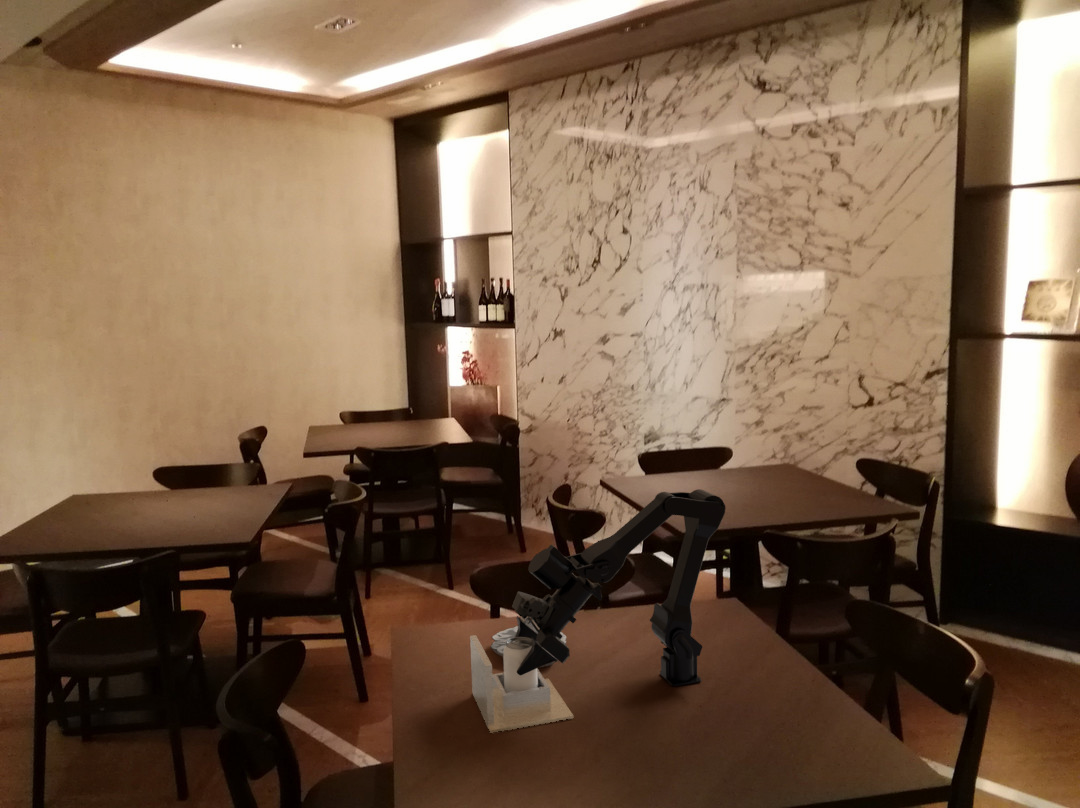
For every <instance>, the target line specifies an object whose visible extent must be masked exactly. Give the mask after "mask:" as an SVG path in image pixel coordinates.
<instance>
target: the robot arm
mask: <svg viewBox="0 0 1080 808" xmlns="http://www.w3.org/2000/svg"><path fill="white" fill-rule="evenodd" d="M725 514H726V504H725V502H724V501H723V499H722V498H721V497H720V496H718V495H716V494H713V493H711V492H709V491H706V490H703V489H695V490H693V491H691V492H684V491H676V492H668V491H661V492H659V493H657V494H656V495H655V497H654V499H652V501H650V502H649V503H648V504H647V505H645V507H643V508H642V509H641V510H640V511H639V512H638V513H637V514H636V515H634V516H633V517H632V518H631V519H629V520H628V522H626V523H625V524H624V525H623V526H621V527H620V528H619V529H618V530H617V531H615V533H613V534H611V536H609V537H606V538H603V539H600V540H598V541H596V542H595V543H593V544H592V545H591V544H590V545H589V546H588V547H586V548H585V549H584V550H583V551H582V552H580V553H576V554H573V555H568V556H564V555H563V554H562V553H561V551H560V550H559V549H558V548H557V547H556V546H554V545H553V544H550V545H549V546H548V547H547V548H544V549H542V550H541V551H539V552H538V553H535V555H534V556H533V557H532V559H531V561H530V562H529V565H528V572H529V573H530V574H531V575H532V576H534V577H535V578H536V579H538V580H539V581H540V582H541V583H542V584H543V585H544V586H545V587H547V588H548V589H549V590H555V589H556V591H555V592H554V593H553V594H552V595H550V593H548V594H546V595H545V596H544V597H543V598H539V597H537V596H535V595H532V594H528V593H526V592H522V591H517V593H516V595H515V598H514V600H513V602H512V606H511V608H512V609H514V610H515V611H514V612H515V613H516V614H517V616H516V622H517V626H518V630H517V633H516V635H515V637H527V638H530V639H532V648H531V650H530V651H529V653H528V654H527V656H526V657H525V659H524V660H523V662H522V663H521V665H520V666H519V668H518V670H517V674H519V675H520V676H521V675H523V674H525V673H528V672H530V671H532V670H534V669H536V668H537V669H538V667H541V666H543V665H546V664H548V663H551V662H554V663H557V662H558V661H559V662H560V663H561V664H564V663H565V662H566V661H567V660H568V659H569V658H570V656H571V655H570V648H569V647H568V645H567V643H566V644H565V643H564V642H563V641H562V640H561V638H562V637H563V636H562V635H561V633H560V632H562V631H563V630H564V629H565V627H566V626H567V625H568V624H569V623H572V624H575V622H576V621H577V619H576V617H575V615H576V614H577V613H578V612H579V611H580V609H581V608H582V607H583V606H584V605H585V603H586V602H587V601H588V599H590V598H591V596H592V595H593V596H594V597H595V598H596V599H597V600H598V601H602V600H603V594H602V585H600V583H603V584H605V583H608V582H610V581H611V580H612V579H613V578H614V577H615V576H616V575H617V574H618V572H619V571H620V570H621V568H622V567H623V566H624V563H625V561H626V560H627V559H626V558H627V557H628V556H629V554H631V552H632V551H633V550H635V549H636V548H637V547H638V546H639V545H640V544H641V543H642V542H644V541H645V540H646V539H647V538H648V537H649V536H650V535H652V534H653V533H654V532H655V531H656V530H657V529H659V527H660V526H662V525H663V524H664V523H665V522H667V520H668V519H669V518H670V517H672V516H680V517H683V521H684V529H685V530H684V531H685V532H684V535H683V540H682V543H681V548H680V550H679V555H678V559H677V561H676V565H675V569H674V573H673V575H672V576H673V577H672V581H671V583H670V587H669V591H668V594H667V597H666V599H665V600H664V601H663V602H662V603H661V604H660V603H658V602H655V603H654V606H653V613H652V616H651V617H650V619H649V621H650V623H651V630H652V632H653V635H655V636H656V637H657V638H658V640H659V641H660V643H661V644H663V646H665V647H663V648H662V656H660V670H659V674H660V676H662V677H663V679H664V680H666V682H668V683H669V684H670V685H671V686H672V687H678V686H685V685H691V684H696V683H701V682H702V678H701V677H700V676H699V675H698V657H699V656H701V655H700V654H701V653H702V649H703V644H701V643H700V642H698V641H697V640H696V639H695V638H694V637H693V636H692V628H693V618H692V617H693V616H692V610H691V609H692V608H691V606H692V602H693V597H694V593H695V590H696V587H697V583H698V579H699V575H700V571H701V568H702V565H703V561H704V557H705V553H706V549H707V548H708V547H707V546H708V542H709V540H710V538H711V537H712V536H713V535H714V533H715V532H716V531H718V529H719V528H720V526H721V523H722V521H723V520H724V516H725ZM574 572H575V573H577V575H578V576H576V575H575V574H574ZM589 579H592V580H593V581H594V582H591V581H590V580H589ZM536 631H537V632H536ZM537 641H538V642H537Z"/></svg>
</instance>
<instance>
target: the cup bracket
mask: <svg viewBox="0 0 1080 808" xmlns="http://www.w3.org/2000/svg"><path fill="white" fill-rule="evenodd" d="M469 640H470V643H469V646H470V664H471V665H470V667H471V670H470V671H471V687H472V688H471V689H472V690H471V691H472V696H473V698H474V700H475V702H477V703H476V704H477V706H478V707H477V708H478V710H479V712H480V711H481V712H480V713H481V716H482V718H483V721H484V720H485V721H484V724H485V725H486V727H487V730H488V729H489V730H488V732H489V731H490V732H489V734H490V733H492V734H494V733H493V732H497V733H499V732H498V731H502V732H505V731H504V730H508V731H513V730H518V729H517V728H519V729H523V727H524V728H529V727H528V726H530V727H534V725H535V726H540V725H539V724H541V725H545V723H546V724H551V723H550V722H552V723H555V722H556V721H557V722H560V721H559V720H563V721H567V720H566V719H568V720H573V718H574V717H575V716H574V714H573V713H572V711H571V710H570V709H569V707H568V706H567V705H568V704H566V702H565V701H564V700H563V697H562V696H561V695H560V693H559V692H558V691H557V689H556V688H555V686H554V684H553V683H552V681H551V680H550V679H549V678H544V676H543V675H542V673H541V672H540V669H538V668H537V675H538V688H533V689H527V690H521V691H515V692H509V693H506V692H505V685H504V671H502V672H498V673H497V672H496V673H493V664H492V662H491V660H490V659H489V657H488V655H487V653H486V651H485V649H484V647H483V645H482V644H481V642H480V640H479V638H478V637H477V635H476V634H475V635H474V634H473V635H470V636H469ZM512 729H513V730H512Z"/></svg>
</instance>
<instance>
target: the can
mask: <svg viewBox="0 0 1080 808" xmlns="http://www.w3.org/2000/svg"><path fill="white" fill-rule="evenodd" d="M505 645H506V646H505V648H504V652H503V657H504V658H503V657H502V658H503V672H504V685H505V692H506V693H509V692H515V691H521V690H527V689H533V688H538V675H537V669H538V668H536V669H534V670H532V671H530V672H528V673H525V674H523V675H521V676H520V675H519V674H517V670H518V668H519V666H520V665H521V663H522V662H523V660H524V659H525V657H526V656H527V654H528V653H529V651H530V650H531V648H532V639H530V638H527V637H515V638H511V639H509V640H507V641H506V642H505Z"/></svg>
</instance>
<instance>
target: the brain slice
mask: <svg viewBox="0 0 1080 808" xmlns="http://www.w3.org/2000/svg"><path fill="white" fill-rule="evenodd" d="M517 630H518V625H516V626H514V627H510V628H506V629H503V630H502V631H501V630H500V631H498V632H496V633H495V634H493V635H492V636H491V639H492V640H493V642H492V643H491V644H490V648H491V649H492V651H493V652H494V653H495V654H496V655H498V656H500V657H501V658H502V659H504V657H503V652H504V648H505V646H506V645H505V642H506V641H507V640H509V639H511V638H515V635H516V633H517ZM536 632H537V631H536ZM560 633H561V635H562V636H563V637H562V638H561V640H562V641H563V642H564V643H565V644H566V645H567V635H566V634H564V632H562V631H561V632H560ZM537 642H538V641H537ZM554 663H555V661H554V662H551V663H548V664H546V665H543V666H541V667H542V668H544V666H546V668H547V667H550V666H553V664H554ZM538 668H539V669H541V668H540V667H538ZM538 668H537V669H538Z"/></svg>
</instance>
